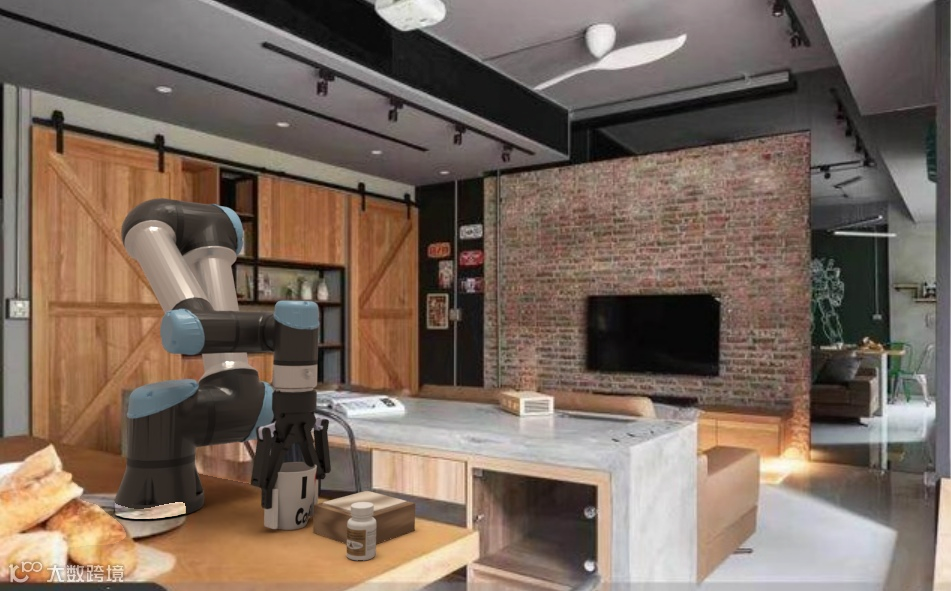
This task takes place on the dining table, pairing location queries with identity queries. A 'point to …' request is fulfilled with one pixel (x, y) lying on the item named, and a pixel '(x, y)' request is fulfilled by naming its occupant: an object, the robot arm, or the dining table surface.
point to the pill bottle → (361, 532)
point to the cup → (295, 494)
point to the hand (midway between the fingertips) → (291, 521)
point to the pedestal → (387, 512)
